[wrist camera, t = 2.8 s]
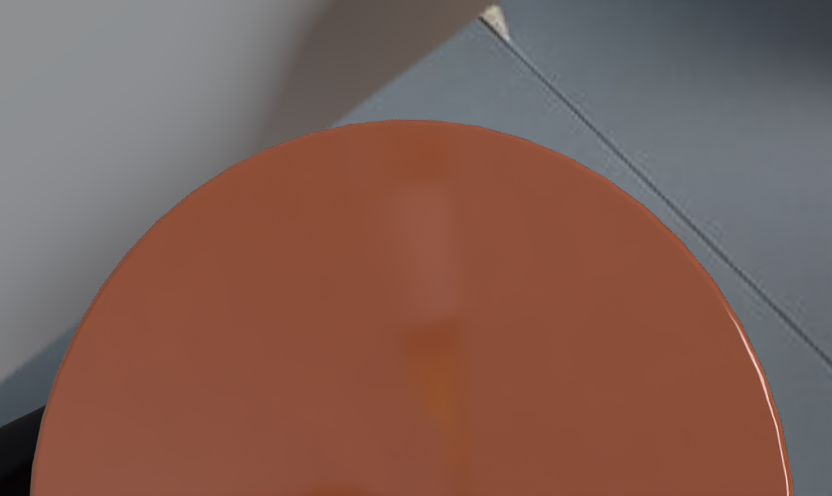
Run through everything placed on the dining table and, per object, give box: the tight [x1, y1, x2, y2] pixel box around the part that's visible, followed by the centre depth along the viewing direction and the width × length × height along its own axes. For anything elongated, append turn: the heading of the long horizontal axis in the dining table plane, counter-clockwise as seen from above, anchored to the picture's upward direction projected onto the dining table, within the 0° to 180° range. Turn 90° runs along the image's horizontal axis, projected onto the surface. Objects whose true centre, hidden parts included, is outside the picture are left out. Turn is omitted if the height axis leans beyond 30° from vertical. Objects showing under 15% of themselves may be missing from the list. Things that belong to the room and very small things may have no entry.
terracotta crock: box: [30, 120, 794, 496], centre depth 11 cm, size 6×6×13 cm
